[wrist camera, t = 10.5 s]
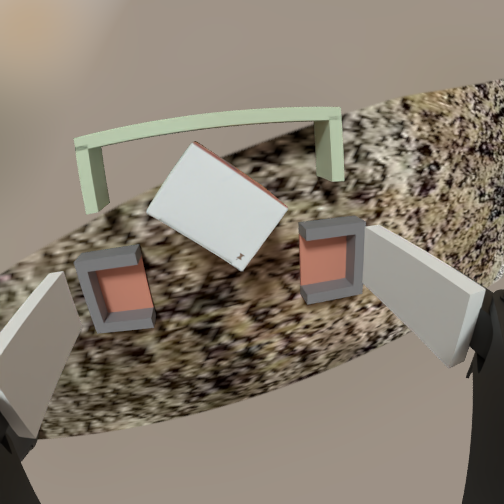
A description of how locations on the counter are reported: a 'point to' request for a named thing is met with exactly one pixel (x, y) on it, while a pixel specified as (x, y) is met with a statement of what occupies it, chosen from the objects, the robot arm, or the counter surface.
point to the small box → (217, 206)
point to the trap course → (129, 257)
